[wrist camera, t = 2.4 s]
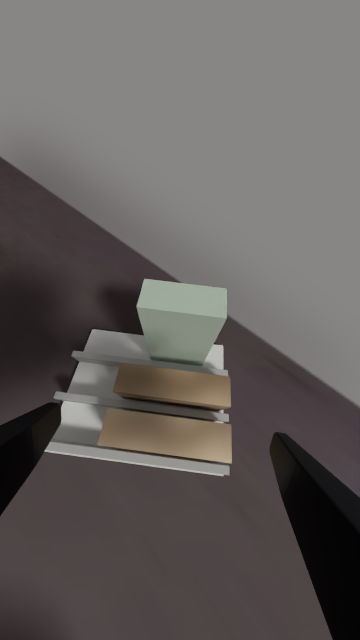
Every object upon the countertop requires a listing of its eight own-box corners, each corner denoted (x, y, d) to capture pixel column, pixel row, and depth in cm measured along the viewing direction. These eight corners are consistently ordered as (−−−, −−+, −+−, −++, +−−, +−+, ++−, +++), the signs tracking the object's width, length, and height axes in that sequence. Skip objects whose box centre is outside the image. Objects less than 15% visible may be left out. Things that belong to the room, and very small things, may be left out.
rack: (220, 473, 18) (229, 481, 15) (49, 450, 18) (29, 453, 15) (221, 348, 24) (227, 338, 21) (95, 332, 24) (86, 321, 22)
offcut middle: (218, 411, 19) (230, 406, 16) (123, 398, 20) (112, 391, 16) (218, 386, 21) (230, 376, 17) (129, 374, 21) (120, 362, 17)
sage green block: (201, 366, 22) (226, 318, 12) (150, 359, 22) (136, 307, 12) (202, 346, 23) (226, 288, 14) (154, 340, 23) (144, 278, 14)
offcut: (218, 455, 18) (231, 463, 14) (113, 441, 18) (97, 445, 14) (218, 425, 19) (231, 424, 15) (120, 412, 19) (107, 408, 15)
